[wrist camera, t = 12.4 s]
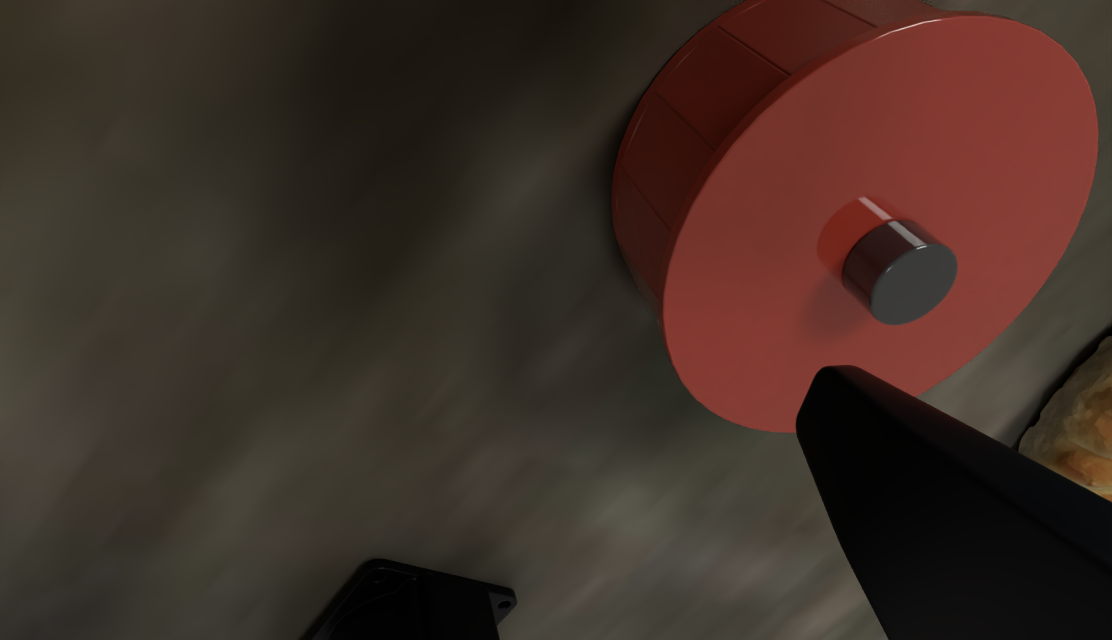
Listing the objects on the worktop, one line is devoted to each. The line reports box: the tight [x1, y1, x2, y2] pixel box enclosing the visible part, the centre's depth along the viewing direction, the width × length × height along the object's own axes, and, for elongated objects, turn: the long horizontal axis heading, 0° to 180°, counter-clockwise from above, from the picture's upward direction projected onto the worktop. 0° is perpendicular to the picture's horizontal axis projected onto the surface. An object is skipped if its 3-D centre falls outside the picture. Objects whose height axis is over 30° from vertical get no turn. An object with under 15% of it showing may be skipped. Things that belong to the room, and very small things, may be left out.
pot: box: [611, 0, 944, 320], centre depth 21 cm, size 10×10×4 cm
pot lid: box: [657, 11, 1099, 433], centre depth 19 cm, size 11×11×2 cm
